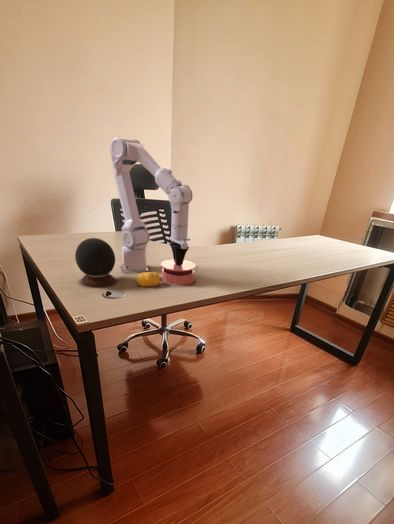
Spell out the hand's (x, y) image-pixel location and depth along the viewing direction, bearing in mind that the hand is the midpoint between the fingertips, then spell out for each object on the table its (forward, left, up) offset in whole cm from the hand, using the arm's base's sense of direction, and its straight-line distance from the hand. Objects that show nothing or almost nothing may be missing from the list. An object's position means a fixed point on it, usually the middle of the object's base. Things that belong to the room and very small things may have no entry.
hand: (178, 263), depth 112 cm
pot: (0, 0, -6) cm, 6 cm away
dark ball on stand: (-29, +3, -7) cm, 30 cm away
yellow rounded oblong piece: (-12, -4, -6) cm, 14 cm away
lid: (0, 0, -1) cm, 1 cm away
